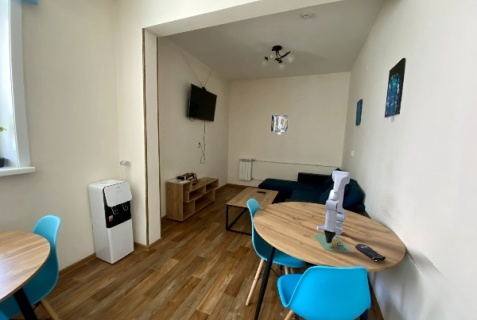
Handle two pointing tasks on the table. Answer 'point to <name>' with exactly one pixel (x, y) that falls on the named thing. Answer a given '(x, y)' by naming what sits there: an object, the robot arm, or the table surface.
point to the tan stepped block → (335, 243)
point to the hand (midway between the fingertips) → (328, 242)
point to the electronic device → (369, 252)
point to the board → (327, 247)
